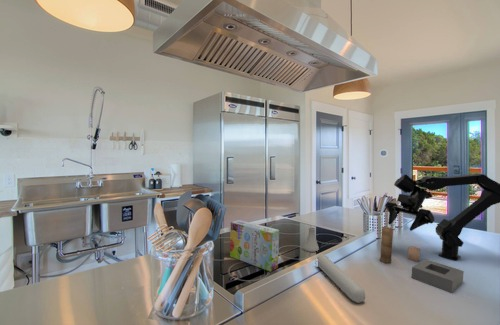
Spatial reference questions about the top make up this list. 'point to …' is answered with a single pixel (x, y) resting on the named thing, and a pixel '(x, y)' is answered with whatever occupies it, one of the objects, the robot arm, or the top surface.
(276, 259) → the snack box
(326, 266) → the tube
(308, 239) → the flask
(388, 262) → the tall pin
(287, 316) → the top surface
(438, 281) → the grey square socket block
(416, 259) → the short pin
